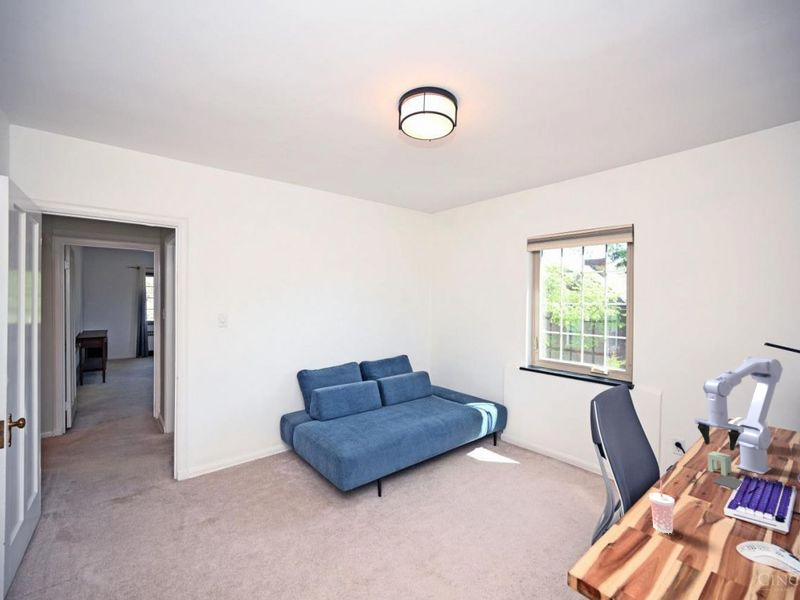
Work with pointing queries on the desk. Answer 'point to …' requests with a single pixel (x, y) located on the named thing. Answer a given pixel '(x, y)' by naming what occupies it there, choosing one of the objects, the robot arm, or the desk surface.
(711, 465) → the slotted sage cube
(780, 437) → the desk surface
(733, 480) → the felt pad
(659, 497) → the beverage cup
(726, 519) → the desk surface
